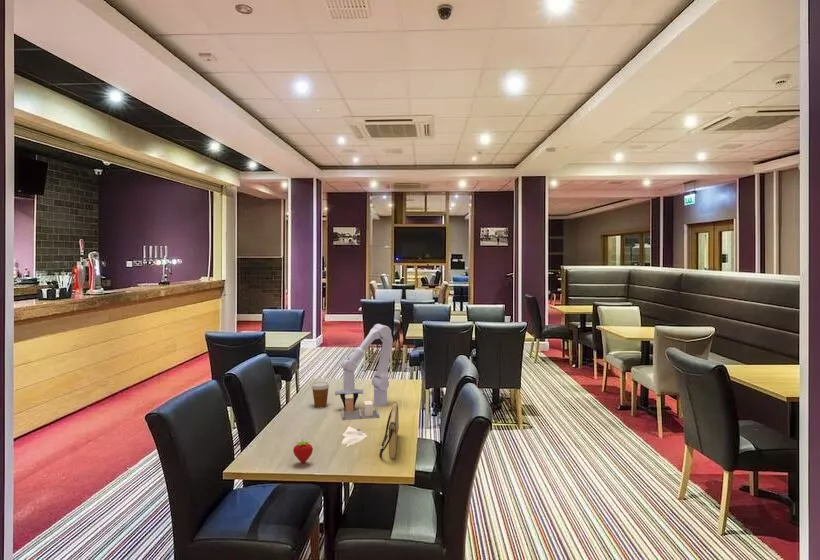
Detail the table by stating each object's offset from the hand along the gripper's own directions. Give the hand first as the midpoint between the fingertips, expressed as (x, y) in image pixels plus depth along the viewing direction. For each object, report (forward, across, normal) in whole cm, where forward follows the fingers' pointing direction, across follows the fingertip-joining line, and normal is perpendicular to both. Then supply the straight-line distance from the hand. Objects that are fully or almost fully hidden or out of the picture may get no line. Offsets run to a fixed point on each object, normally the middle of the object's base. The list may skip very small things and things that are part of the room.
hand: (349, 408), depth 241 cm
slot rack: (+2, +5, -10) cm, 11 cm away
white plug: (+1, +9, -10) cm, 14 cm away
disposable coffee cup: (+2, -15, +12) cm, 19 cm away
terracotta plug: (+2, 0, 0) cm, 2 cm away
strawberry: (+2, -20, -60) cm, 63 cm away
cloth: (+3, 0, -35) cm, 35 cm away
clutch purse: (+2, +15, -50) cm, 52 cm away
